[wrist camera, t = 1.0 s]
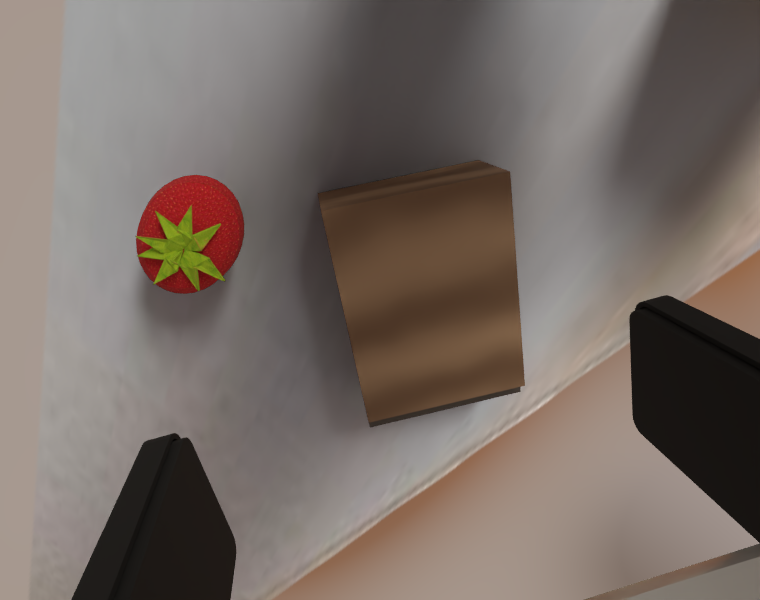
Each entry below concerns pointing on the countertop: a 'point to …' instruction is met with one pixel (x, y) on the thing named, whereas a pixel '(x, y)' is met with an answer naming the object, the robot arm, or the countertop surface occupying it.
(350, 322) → the brown wooden block
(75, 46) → the countertop surface
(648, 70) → the countertop surface
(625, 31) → the countertop surface
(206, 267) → the strawberry
